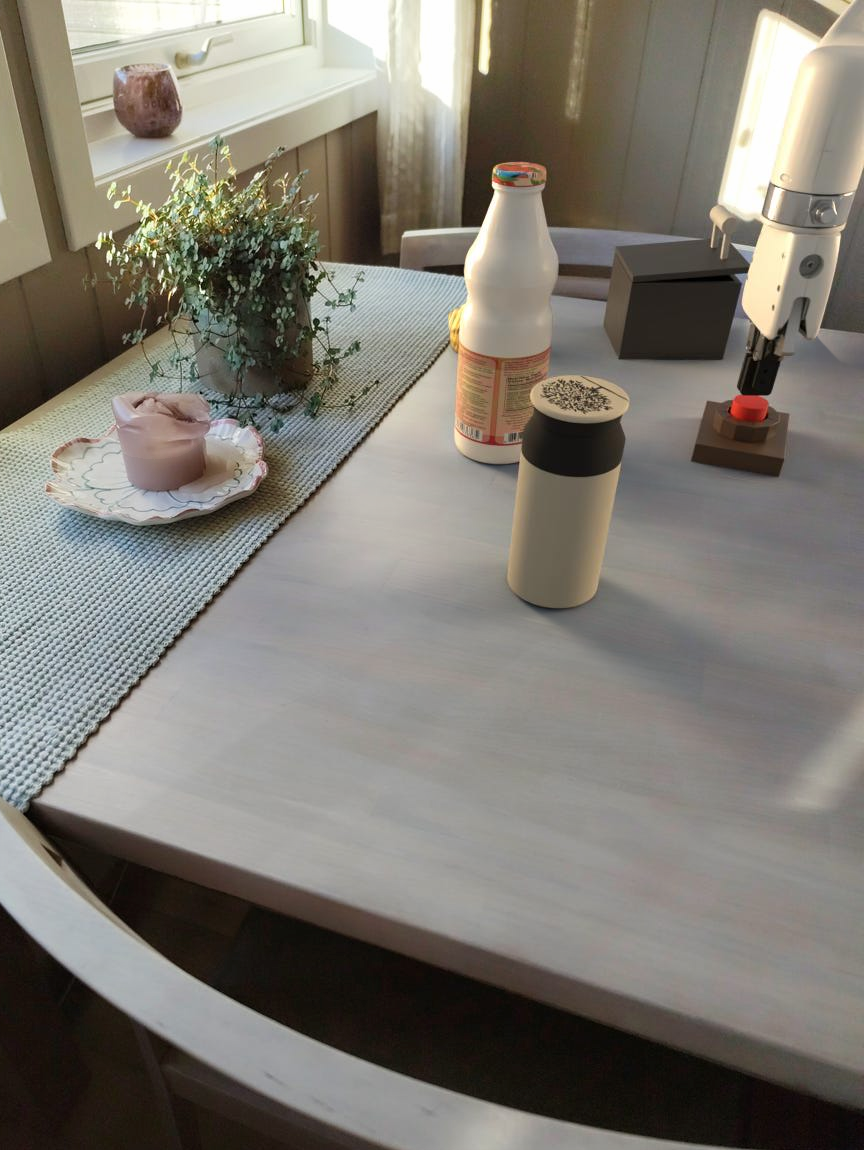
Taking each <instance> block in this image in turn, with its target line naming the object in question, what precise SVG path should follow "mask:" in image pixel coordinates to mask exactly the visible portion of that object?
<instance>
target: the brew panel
mask: <svg viewBox="0 0 864 1150" xmlns="http://www.w3.org/2000/svg"><path fill="white" fill-rule="evenodd" d="M733 400H734V399H727V400H724V401H722V402H718V401H711V400H706V402H705V407H704V410H703V414H702V418H701V421H700V424H699V429H698V432H697V436H696V440H695V444H694V446H693V451H692V455H691V459H690V462H692V463H697V464H701V465H702V464H703V465H708V466H713V467H719V468H725V469H732V470H736V471H742V472H748V473H754V474H758V475H759V474H760V475H765V476H769V477H770V476H771V477H777V478H779V477H780V476H781V475H780V474H781V471H782V469H783V465H784V462H785V459H786V449H787V442H788V441H787V440H788V433H789V423H790V413H789V412H782V411H777V410H776V409H775V408H774V407H773V406H770V405H769V406H768V409H767V413H766V416H765V419H764V421H762V422H747V421H741V420H739V419H737V418H734V417H732V416H731V415H730V411H731V408H732V404H733Z"/></svg>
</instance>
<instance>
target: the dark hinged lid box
mask: <svg viewBox="0 0 864 1150" xmlns="http://www.w3.org/2000/svg"><path fill="white" fill-rule="evenodd" d="M742 286H743V282H742V281H741V280H740V279H739V278H738V276H737V274H732V275H720V276H707V277H695V278H682V279H670V280H657V281H645V282H632V281H631V279H630V277H629V276H628V274H627V272H626V270H625V269H624V267H623V265H622V263H621V262H620V260H619V258H618V257H617V255H616V253H615V252H614V255H613V260H612V268H611V274H610V281H609V286H608V293H607V299H606V305H605V312H604V316H603V325H602V326H603V328H604V330H605V333H606V335H607V337H608V339H609V341H610V344H611V346H612V348H613V350H614V352H615V355H616V357H617V358H618V360H683V361H685V360H693V361H695V360H699V361H701V360H702V361H703V360H711V361H713V360H715V361H716V360H719V361H721V360H724V356H725V353H726V350H727V345H728V341H729V337H730V333H731V330H732V325H733V321H734V317H735V313H736V310H737V305H738V301H739V297H740V294H741V289H742Z"/></svg>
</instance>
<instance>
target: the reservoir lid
mask: <svg viewBox="0 0 864 1150" xmlns="http://www.w3.org/2000/svg"><path fill="white" fill-rule="evenodd" d="M709 219H710V220H711V221H712V222H713V226H712V233H711V238H702V239H691V240H679V241H677V240H676V241H665V242H653V243H641V244H631V245H629V244H627V245H618V246H615V247H614V254H615V253H616V255H617V257H618V258H619V260H620V262H621V263H622V265H623V267H624V269H625V270H626V272H627V274H628V276H629V277H630V279H631V281H632V282H645V281H657V280H670V279H682V278H695V277H707V276H720V275H732V274H735V275H742V274H743V275H744V274H745V275H746V274H748V271H749V268H750V264H751V263H750V262H749V261H748V260H747V259H746V258H745V257H744V256H743V255H742V253H740V252H739V250H738V249H737V248H736V246H735V245H733V244H732V242H731V236H732V234H734V233H735V232H736V231H737V229H738V228H739V221H738V219H737V217H736V216H735V215H733V213H731V211H729V209H727V207H726V206H725V205H724V204H716V205H715V206H713V207H712V208H711V210H710V212H709ZM720 232H722V233H723V237H720Z"/></svg>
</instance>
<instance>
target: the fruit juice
mask: <svg viewBox="0 0 864 1150" xmlns="http://www.w3.org/2000/svg"><path fill="white" fill-rule="evenodd" d="M546 182H547V168H546V167H545V166H543V165H541V164H538V163H534V162H529V161H528V162H526V161H509V162H502V163H499V164H496V165H495V166H494V167H493V170H492V173H491V186H492V189H493V190H494V192H493V196H492V198H491V201H490V204H489V206H488V209H487V211H486V214H485V217H484V220H483V222H482V225H481V227H480V229H479V232H478V234H477V236H476V238H475V239H474V242H473V243H472V245H470V247H469V249H468V251H467V254H466V256H465V260H464V267H463V274H464V275H463V276H464V282H465V286H466V292H467V298H466V302H465V303H464V304H465V305H464V308H463V311H462V315H461V322H460V331H459V353H457V354H458V355H457V356H458V357H457V372H456V373H457V376H456V391H455V393H456V394H455V395H456V396H455V410H454V411H455V413H454V414H455V415H454V431H453V433H454V443H455V446H456V448H457V450H458V452H460V453H461V454H462V455H463V456H465V457H467V458H469V459H470V460H473V461H476V462H480V463H483V464H489V465H509V464H510V465H511V464H515V463H518V462H519V463H520V455H521V446H522V437H523V429H524V426H525V425H526V423H527V422H528V421H529V419H530V418H531V416H532V415H533V414H534V407H533V404H532V402H531V399H530V393H531V391H532V389H533V388H534V386H535V385H537V384H538V383H540V382H541V381H544V380H546V379H548V375H549V374H548V373H549V365H550V356H551V349H552V340H553V331H554V314H553V310H552V309H553V308H552V306H551V297H552V294H553V292H554V289H555V287H556V284H557V281H558V276H559V256H558V253H557V251H556V248H555V247H554V244H553V242H552V239H551V236H550V232H549V228H548V223H547V217H546V214H545V213H546V212H545V209H544V208H545V207H544V204H543V199H542V198H543V197H542V192H543V190H544V189H545V187H546Z"/></svg>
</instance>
